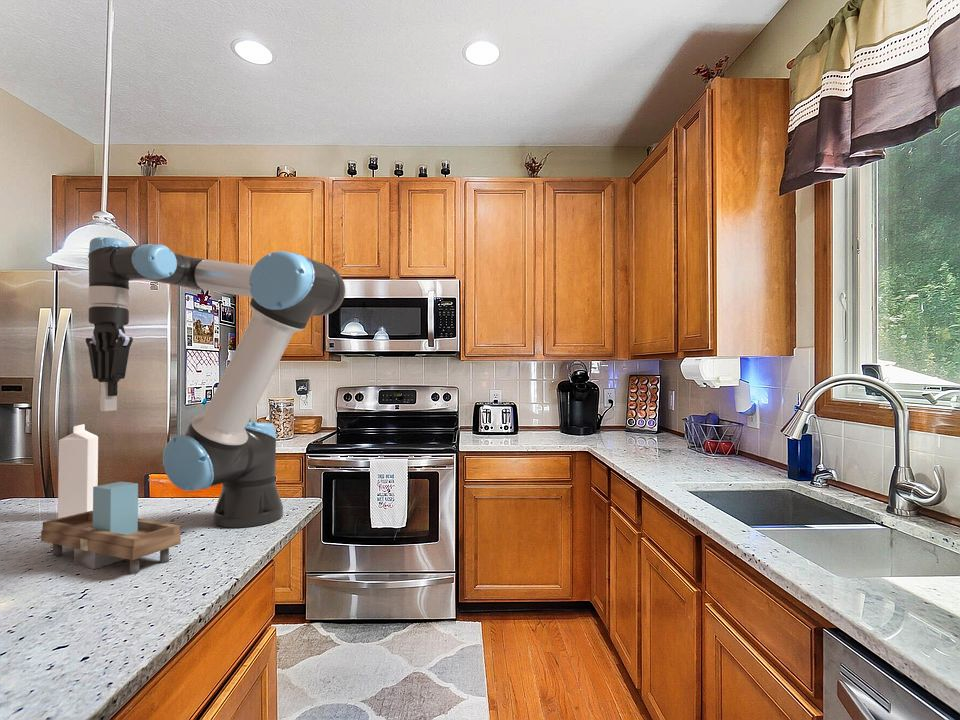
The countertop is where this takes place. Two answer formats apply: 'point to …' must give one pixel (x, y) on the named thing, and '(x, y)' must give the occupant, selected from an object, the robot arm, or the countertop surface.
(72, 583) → the countertop surface
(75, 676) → the countertop surface
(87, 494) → the milk
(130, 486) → the block
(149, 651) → the countertop surface
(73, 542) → the long brown tray
